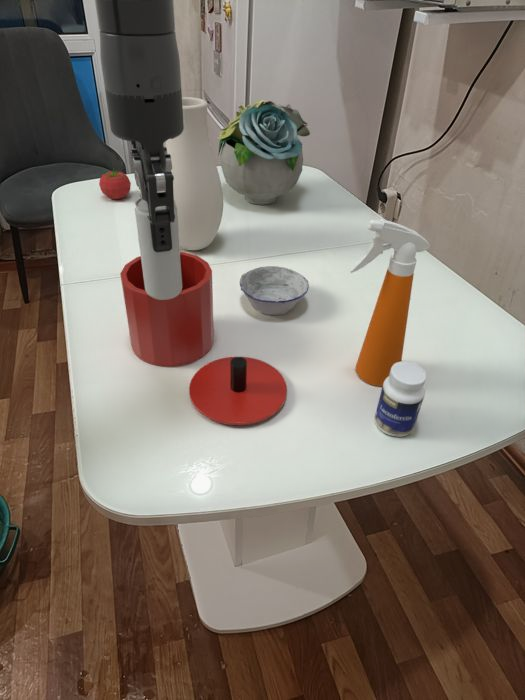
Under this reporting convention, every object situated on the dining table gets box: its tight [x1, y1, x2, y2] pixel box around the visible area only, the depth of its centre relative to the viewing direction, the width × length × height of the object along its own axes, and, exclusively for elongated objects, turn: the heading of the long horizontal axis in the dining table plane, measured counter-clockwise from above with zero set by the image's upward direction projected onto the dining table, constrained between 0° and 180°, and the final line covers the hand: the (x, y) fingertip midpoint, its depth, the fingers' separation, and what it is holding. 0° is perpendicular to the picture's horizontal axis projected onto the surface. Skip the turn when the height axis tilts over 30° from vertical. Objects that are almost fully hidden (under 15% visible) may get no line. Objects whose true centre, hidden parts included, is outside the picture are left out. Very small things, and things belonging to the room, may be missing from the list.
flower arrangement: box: [216, 99, 311, 206], centre depth 131 cm, size 25×25×24 cm
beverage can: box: [134, 197, 182, 300], centre depth 62 cm, size 5×5×12 cm
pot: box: [120, 251, 215, 368], centre depth 83 cm, size 14×14×14 cm
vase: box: [165, 96, 224, 251], centre depth 106 cm, size 14×14×30 cm
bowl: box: [239, 265, 310, 316], centre depth 96 cm, size 13×13×5 cm
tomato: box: [98, 168, 132, 200], centre depth 133 cm, size 8×8×8 cm
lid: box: [188, 356, 288, 426], centre depth 76 cm, size 15×15×6 cm
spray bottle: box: [349, 218, 432, 387], centre depth 75 cm, size 7×11×26 cm, turn 94°
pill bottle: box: [374, 360, 427, 437], centre depth 71 cm, size 6×6×10 cm
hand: (158, 239), depth 61 cm, fingers closed on beverage can, 5 cm apart
